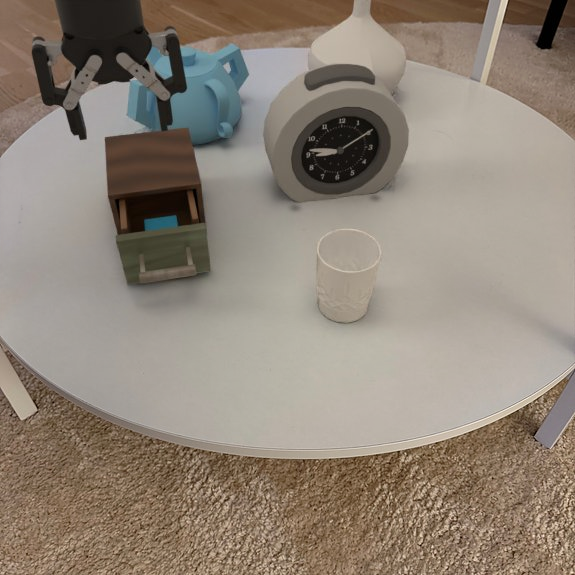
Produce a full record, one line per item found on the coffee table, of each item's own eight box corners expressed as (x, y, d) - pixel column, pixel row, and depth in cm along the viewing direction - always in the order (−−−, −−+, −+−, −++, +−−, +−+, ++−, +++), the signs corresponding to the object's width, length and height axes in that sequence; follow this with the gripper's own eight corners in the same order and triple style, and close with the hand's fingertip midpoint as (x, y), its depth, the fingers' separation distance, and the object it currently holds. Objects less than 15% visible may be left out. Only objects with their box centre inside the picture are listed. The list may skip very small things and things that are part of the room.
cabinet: (207, 235, 90) (201, 183, 83) (121, 248, 88) (107, 195, 81) (194, 178, 99) (188, 127, 92) (117, 188, 97) (104, 136, 90)
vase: (419, 99, 118) (437, -3, 104) (356, 133, 109) (367, 28, 95) (350, 66, 127) (358, -31, 113) (287, 96, 118) (288, -6, 104)
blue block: (151, 264, 82) (146, 240, 79) (148, 243, 85) (143, 219, 82) (183, 259, 83) (179, 235, 80) (180, 238, 86) (176, 214, 83)
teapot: (250, 100, 117) (247, 29, 107) (236, 157, 104) (230, 82, 94) (153, 95, 118) (141, 24, 108) (127, 150, 105) (110, 76, 95)
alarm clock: (272, 205, 95) (271, 89, 80) (263, 177, 100) (261, 63, 85) (400, 189, 98) (421, 74, 84) (386, 163, 103) (403, 50, 89)
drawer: (216, 296, 80) (211, 253, 74) (129, 310, 78) (117, 267, 72) (198, 210, 92) (193, 168, 87) (122, 221, 90) (112, 178, 85)
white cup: (381, 297, 81) (392, 242, 74) (356, 336, 77) (364, 281, 69) (330, 275, 84) (335, 220, 77) (302, 311, 79) (305, 257, 72)
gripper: (4, -7, 49) (55, 159, 61) (178, -19, 52) (194, 143, 64) (10, -39, 54) (56, 121, 66) (168, -48, 57) (185, 107, 69)
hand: (124, 131), depth 65 cm, fingers open, 8 cm apart
